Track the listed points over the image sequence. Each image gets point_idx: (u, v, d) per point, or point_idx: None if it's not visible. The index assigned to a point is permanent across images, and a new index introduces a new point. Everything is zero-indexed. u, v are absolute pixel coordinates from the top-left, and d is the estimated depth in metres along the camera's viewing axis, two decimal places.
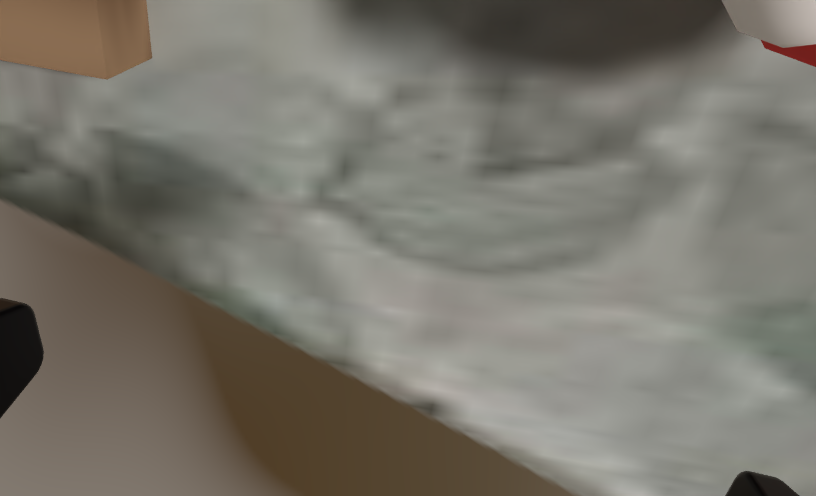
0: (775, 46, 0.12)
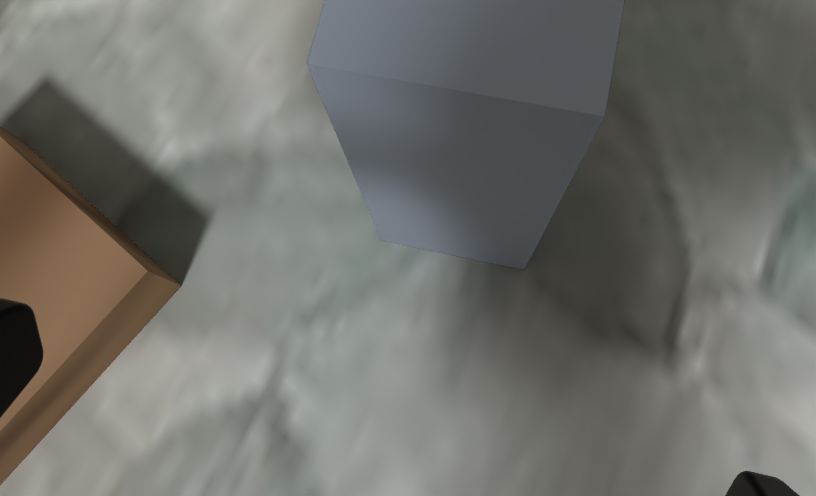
0: None
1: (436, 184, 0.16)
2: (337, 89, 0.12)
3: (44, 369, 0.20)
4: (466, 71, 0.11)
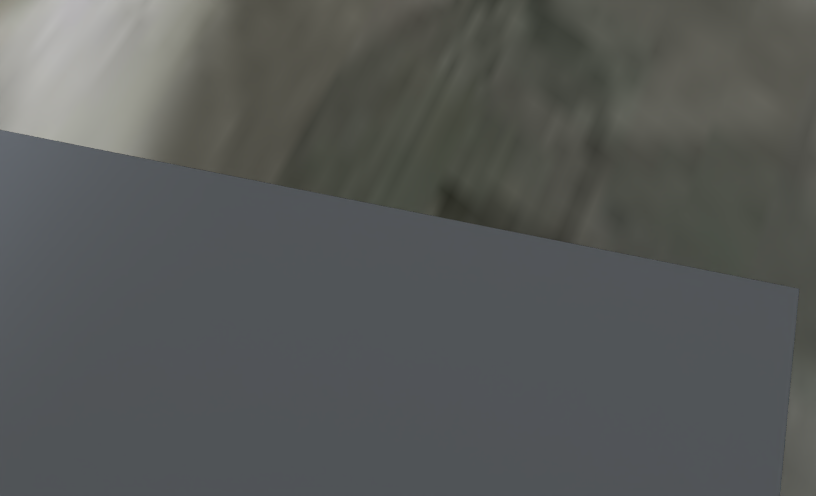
0: None
1: None
2: None
3: None
4: None
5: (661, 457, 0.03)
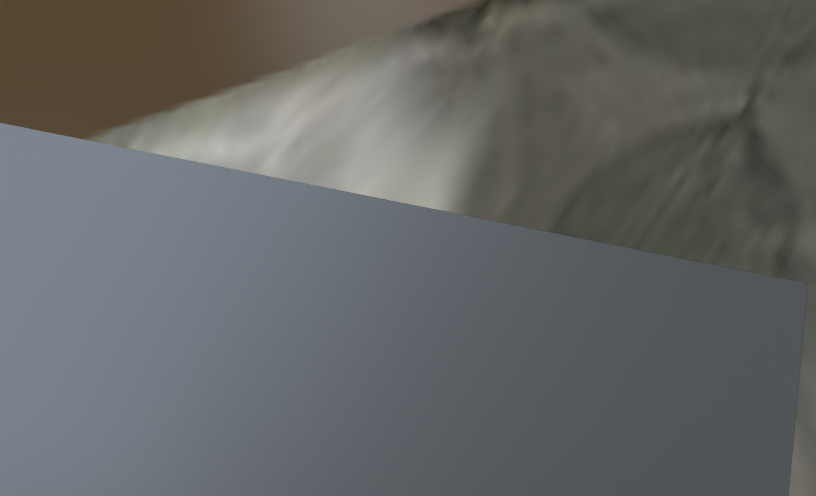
0: None
1: None
2: None
3: None
4: None
5: (670, 451, 0.03)
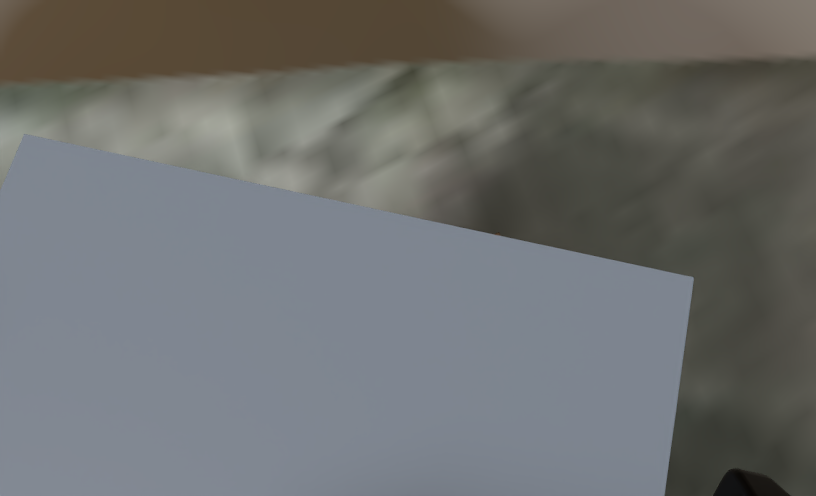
0: None
1: None
2: None
3: None
4: None
5: (600, 384, 0.04)
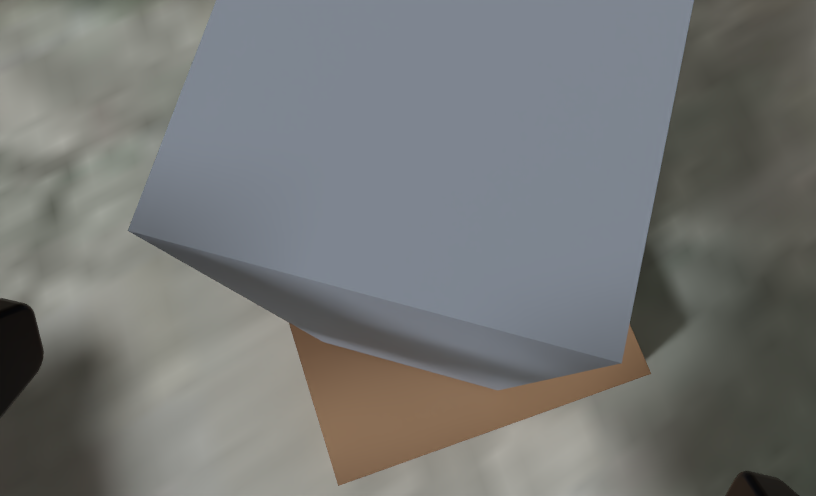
0: None
1: (373, 336, 0.11)
2: (192, 256, 0.07)
3: (501, 414, 0.18)
4: (393, 264, 0.06)
5: None
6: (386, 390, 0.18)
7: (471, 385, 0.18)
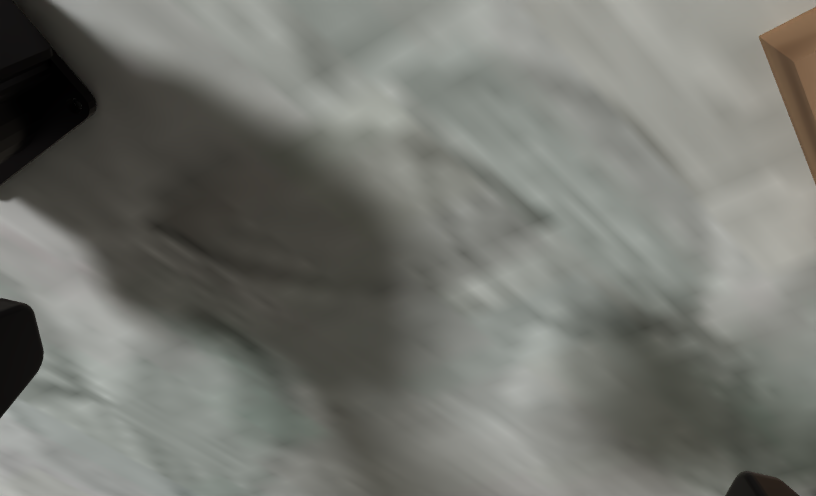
0: None
1: None
2: None
3: None
4: None
5: None
6: None
7: None
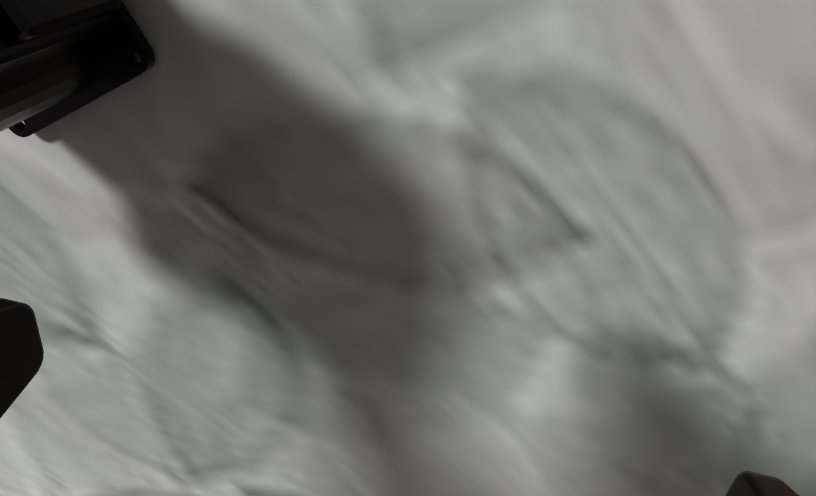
0: None
1: None
2: None
3: None
4: None
5: None
6: None
7: None
